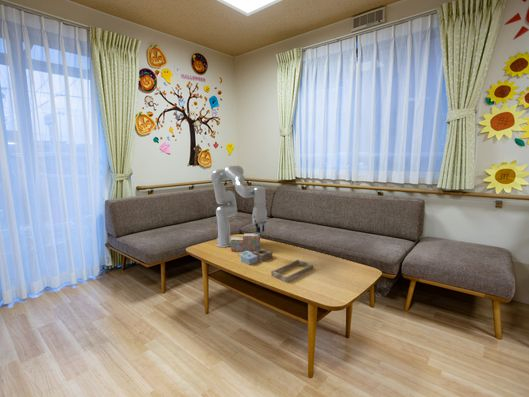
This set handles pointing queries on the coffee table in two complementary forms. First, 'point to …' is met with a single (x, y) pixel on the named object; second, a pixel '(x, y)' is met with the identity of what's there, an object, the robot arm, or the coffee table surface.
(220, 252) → the coffee table surface
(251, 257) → the block
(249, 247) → the stack of blocks
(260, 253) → the square-holed wooden block
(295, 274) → the rectangular wooden corral frame
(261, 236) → the cylinder
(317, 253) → the coffee table surface
